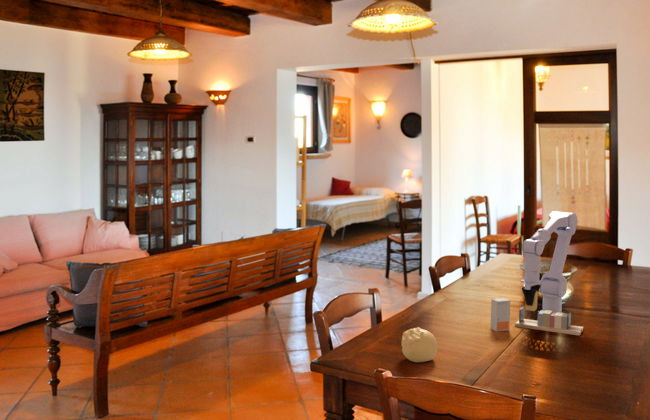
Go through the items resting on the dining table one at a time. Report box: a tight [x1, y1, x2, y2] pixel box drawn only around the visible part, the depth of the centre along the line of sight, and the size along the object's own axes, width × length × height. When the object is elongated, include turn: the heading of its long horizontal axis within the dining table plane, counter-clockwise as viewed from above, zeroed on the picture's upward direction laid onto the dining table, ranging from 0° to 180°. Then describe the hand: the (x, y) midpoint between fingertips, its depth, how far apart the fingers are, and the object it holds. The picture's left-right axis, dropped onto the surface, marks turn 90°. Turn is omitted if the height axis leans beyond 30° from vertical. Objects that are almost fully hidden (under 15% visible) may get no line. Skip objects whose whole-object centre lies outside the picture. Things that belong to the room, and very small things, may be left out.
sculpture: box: [400, 326, 438, 363], centre depth 213 cm, size 12×12×11 cm
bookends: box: [518, 306, 572, 330], centre depth 247 cm, size 5×18×5 cm, turn 59°
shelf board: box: [514, 318, 584, 336], centre depth 246 cm, size 8×24×1 cm, turn 59°
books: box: [536, 309, 569, 329], centre depth 245 cm, size 5×11×5 cm, turn 60°
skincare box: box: [490, 297, 511, 332], centre depth 244 cm, size 6×4×12 cm
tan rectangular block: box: [524, 291, 539, 312], centre depth 249 cm, size 4×4×7 cm
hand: (530, 303), depth 249 cm, fingers closed on tan rectangular block, 4 cm apart
